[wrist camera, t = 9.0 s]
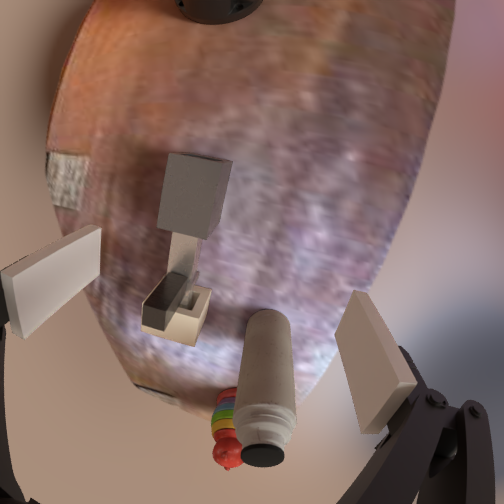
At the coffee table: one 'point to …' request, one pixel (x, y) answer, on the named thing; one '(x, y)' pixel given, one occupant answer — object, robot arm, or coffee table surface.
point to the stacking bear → (225, 431)
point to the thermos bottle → (265, 390)
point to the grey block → (193, 194)
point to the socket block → (185, 319)
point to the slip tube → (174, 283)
